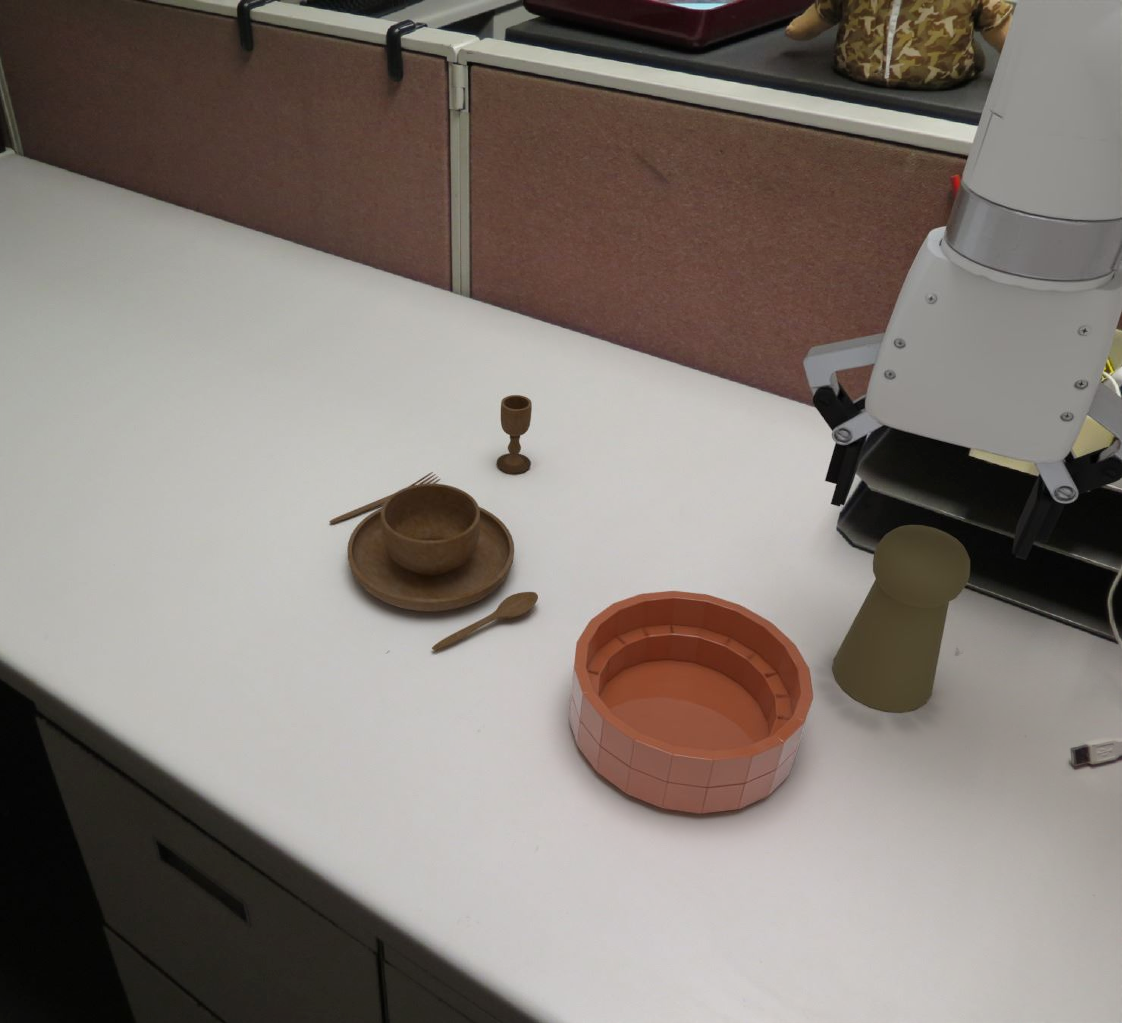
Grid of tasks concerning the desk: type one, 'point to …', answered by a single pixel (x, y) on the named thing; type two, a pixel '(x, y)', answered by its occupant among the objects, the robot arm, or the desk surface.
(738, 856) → the desk surface
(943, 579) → the cork
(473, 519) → the place setting
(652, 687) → the bowl
